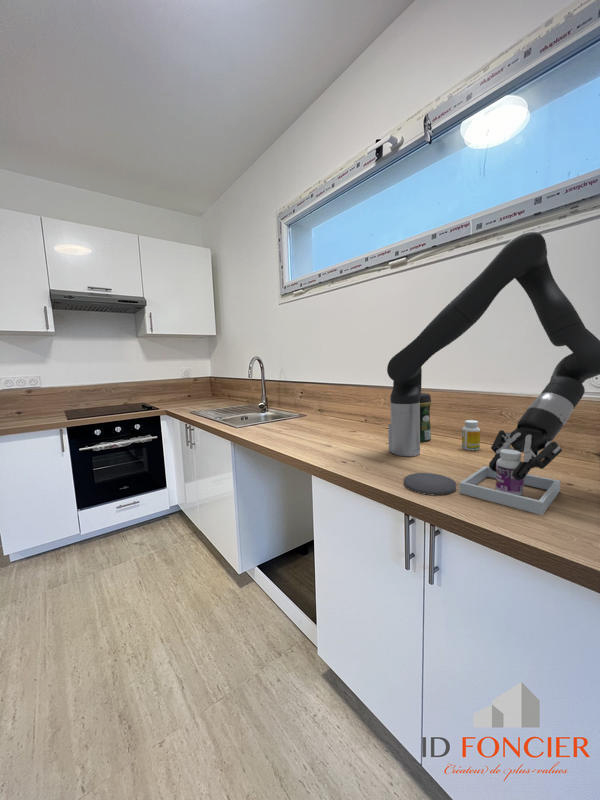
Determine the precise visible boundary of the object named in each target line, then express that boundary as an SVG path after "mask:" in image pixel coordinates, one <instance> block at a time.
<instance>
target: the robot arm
mask: <svg viewBox="0 0 600 800" xmlns="http://www.w3.org/2000/svg"><path fill="white" fill-rule="evenodd" d="M547 249H548V248H547V242H546V239H545V238H544V236H543V235H542V234H541V233H540V232H538V231H533V230H532V231H525V232H522V233H520V234H517V235H516V236H514V237H513V238H512V239H510V240H509V241H508V242H507V243H506V244H505V245H504V246H503V248H502V249H501V250H500V251H499V252H498V254H496V255H495V257H494V258H493V259H492V260H491V261H490V263H488V265H487V266H486V267H485V268H484V269H483V271H482V272H480V274H479V275H478V276H477V277H476V278H475V279H474V280H472V281H471V282H470V283H469V284H468V285H467V286H466V287H465V288H464V289H463V290H462V291H461V292H460V293H459V294H458V295H456V297H454V298H453V299H452V300H451V301H450V302H449V303H448V304H447V305H445V307H444V308H442V310H441V311H440V312H439V313H438V314H437V315H435V317H434V318H433V319H432V320H431V322H429V323H428V325H426V327H424V329H423V330H422V331H421V332H420V333H419V334H418V336H417V337H416V338H414V339H413V340H412V341H411V342H410V343H408V345H406V346H405V347H404V348H402V349H401V350H399V352H397V353H396V354H395V355H394V356H392V357H391V359H389V362H388V363H387V365H386V366H387V368H386V371H387V375H388V377H389V378H390V379H391V380H392V381H393V382H392V386H393V387H392V391H391V393H390V397H389V398H390V424H388V427H387V429H388V431H387V432H388V435H387V436H388V453H391V454H393V455H395V456H400V457H415V456H418V455H420V454H421V441H420V394H421V393H422V380H423V379H422V376H423V375H422V372H423V371H422V369H423V368H422V366H423V365H424V364H425V363H427V362H428V360H429V359H430V358H431V357H433V356H434V355H435V354H436V353H438V352H440V351H441V350H442V349H444V348H446V347H448V346H449V345H451V344H452V343H453V342H454V341H456V340H458V338H460V337H461V336H462V335H463V334H465V333H466V332H467V331H469V330H470V329H471V327H473V326H474V325H475V324H476V323H477V322H478V321H479V320H480V319H481V317H482V316H483V315H484V314H485V313H486V311H487V310H488V308H489V307H490V306H491V304H492V303H493V302H494V300H495V299H496V297H497V296H498V295H499V293H500V292H501V291H502V290H503V289H504V288H505V287H506V286H507V285H509V284H510V283H511V282H512V281H514V280H515V281H517V282H518V284H519V285H520V286H521V288H522V289H523V290H524V292H525V293H526V294H527V297H528V298H529V300H530V302H531V305H533V309H534V310H535V312H536V315H537V318H538V320H539V322H540V324H541V326H542V329H543V330H544V332H545V334H546V335H547V338H548V339H549V340H550V342H551V344H552V345H553V346H554V347H564V346H566V347H567V348H568V349H569V351H571V352H572V353H571V354H568V355H566V356H565V357H563V358H562V359H561V360H559V362H558V363H557V364H556V366H555V367H554V369H553V371H552V372H553V373H552V375H551V377H550V380H549V382H548V383H547V384H546V386H545V388H543V390H542V391H541V392H540V394H539V395H538V396H537V397H536V398H535V399H534V400H533V401H532V403H531V404H530V405H529V407H527V409H526V410H525V412H524V413H523V414H522V416H521V417H520V418H519V420H518V421H517V424H516V428H515V429H514V430H512V431H511V432H505V431H504V430H499V431H498V432H497V435H496V437H495V439H494V441H493V443H492V444H491V447H490V449H491V451H492V452H493V453H495V455H494V456H493V457H492V459H491V460H490V461H489V463H488V467H489V468H490V469H491V470H492V471H494V472H496V462H497V460H498V459H499V458H501V457H500V450H503V449H511V450H516V451H519V452H521V453H524V455H523V461H522V462H520V464H519V465H518V466H517V468H516V469H515V471H514V472H513V473H512V476H513V477H514V478H515V479H516V480H519V481H520V480H521V479H523V478H525V476H526V475H527V474H528V473H529V472H530V471H531V470H532V469H535V468H539V469H544V468H546V467H547V466H548V465H549V464H550V463H551V462H552V461H553V460H555V459H556V457H558V456H559V455H560V454H561V453H562V451H563V449H562V448H561V447H560V445H559V444H558V443H557V442H556V441H554V439H555V438H556V436H557V435H558V434H559V433H560V431H561V430H562V428H563V427H564V425H566V423H567V421H568V420H569V418H570V416H571V415H572V412H573V411H574V409H576V408H575V407H577V405H578V404H579V402H580V401H581V399H582V398H583V396H584V394H585V390H586V389H585V386H584V382H586V381H587V380H589V379H592V378H595V377H597V376H599V375H600V339H599V338H598V337H597V336H596V335H594V333H592V332H591V331H590V330H589V329H588V328H587V327H586V326H585V324H584V323H583V320H582V318H581V316H580V315H579V313H578V312H577V310H576V308H575V307H574V305H573V303H572V302H571V301H570V299H569V298H568V297H567V296H566V294H565V293H564V292H563V290H561V288H560V286H559V285H558V283H557V282H556V280H555V278H554V276H553V273H552V271H551V267H550V264H549V261H548V250H547ZM511 447H512V448H511ZM528 475H529V474H528Z"/></svg>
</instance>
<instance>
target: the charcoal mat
mask: <svg viewBox="0 0 600 800" xmlns="http://www.w3.org/2000/svg"><path fill="white" fill-rule="evenodd" d="M403 485H404V487H405V488H406V489H408V488H409V489H408V490H410V489H411V490H410V491H412V490H413V492H414V491H416V492H415V493H417V492H420V493H419V494H421V493H425V494H424V495H427V494H434V495H433V496H442V495H441V494H446V495H450V494H453V493H454V492H456V490H457V483H456V481H455V480H454V479H453V478H451V477H449V476H446V475H443V474H438V473H431V472H430V473H429V472H417V473H411V474H408V475H406V476H404V478H403Z"/></svg>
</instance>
